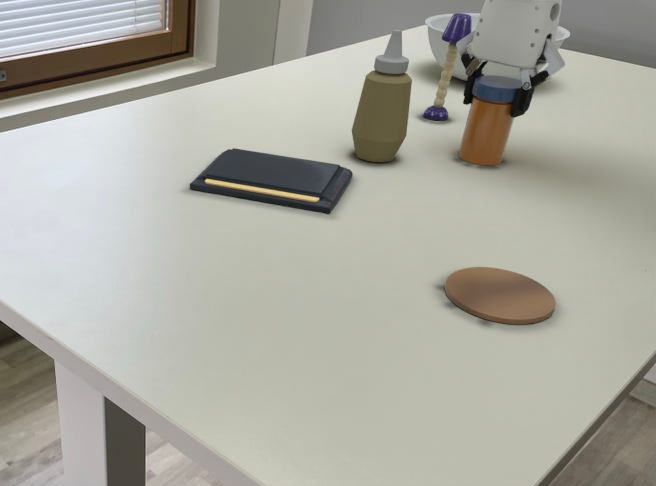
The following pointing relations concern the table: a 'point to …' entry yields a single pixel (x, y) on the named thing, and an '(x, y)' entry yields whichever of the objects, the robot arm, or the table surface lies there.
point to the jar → (486, 132)
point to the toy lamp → (449, 63)
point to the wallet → (275, 179)
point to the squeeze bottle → (383, 105)
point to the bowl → (441, 47)
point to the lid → (496, 88)
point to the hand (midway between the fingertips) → (493, 108)
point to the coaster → (500, 295)
